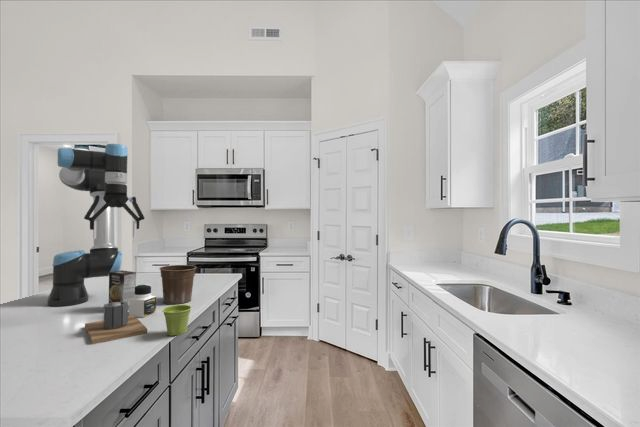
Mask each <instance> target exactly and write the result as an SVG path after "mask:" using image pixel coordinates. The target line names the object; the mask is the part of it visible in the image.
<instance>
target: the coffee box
mask: <svg viewBox="0 0 640 427" xmlns="http://www.w3.org/2000/svg"><path fill="white" fill-rule="evenodd" d="M136 286H137V271H129V270H121V269H120V270H119V271H113V272H109V276H108V303H111V302H127V303H128V311H129V299H130V298H134V297H135V287H136Z"/></svg>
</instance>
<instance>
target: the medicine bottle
mask: <svg viewBox="0 0 640 427" xmlns="http://www.w3.org/2000/svg"><path fill="white" fill-rule="evenodd" d="M156 313H157V296H156V295H152V286H151V285H150V284H138V285H136V287H135V297H134V298H130V299H129V310H128V316H134V315H135V316H136V318H146V317H149V316H151V315H154V314H156Z"/></svg>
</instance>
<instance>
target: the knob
mask: <svg viewBox="0 0 640 427" xmlns="http://www.w3.org/2000/svg"><path fill="white" fill-rule="evenodd" d="M112 303H117V302H111V303H109V302H108V303H105V304H103V320H104V322H103V325H104V327H118V326H123V325H125V324H127V323H128V316H129V310H128V303H127V302H119V303H121V305H118V306H111V304H112Z"/></svg>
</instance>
